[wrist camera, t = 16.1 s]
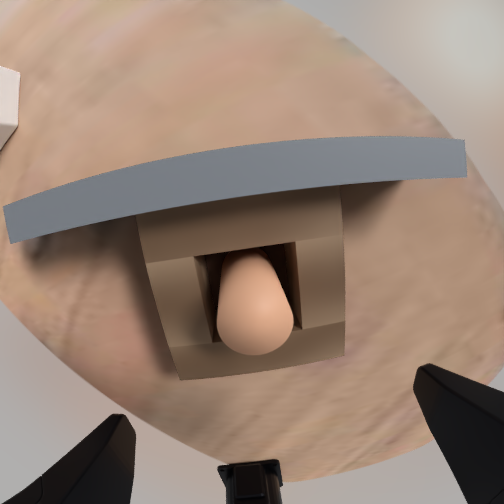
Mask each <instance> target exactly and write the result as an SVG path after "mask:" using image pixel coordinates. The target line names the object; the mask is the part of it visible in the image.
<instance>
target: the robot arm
mask: <svg viewBox="0 0 504 504" xmlns="http://www.w3.org/2000/svg"><path fill="white" fill-rule="evenodd" d="M413 390H414V394H415V396H416V398H417V400H418V403H419V405H420V408H421V410H422V412H423V415H424V417H425V420H426V422H427V424H428V427H429V429H430V431H431V433H432V434H433V436H434V438H435V440H436V442H437V444H438V445H439V447H440V449H441V451H442V453H443V455H444V457H445V459H446V461H447V462H448V464H449V466H450V468H451V470H452V472H453V474H454V476H455V478H456V480H457V482H458V484H459V486H460V488H461V491H462V493H463V495H464V496H465V499H466V501H467V503H468V504H504V392H502V391H499V390H497V389H494V388H491V387H489V386H486V385H484V384H481V383H478V382H476V381H473V380H471V379H468V378H466V377H463V376H461V375H458V374H456V373H453V372H451V371H448V370H446V369H443V368H441V367H438V366H436V365H433V364H430V363H428V364H425V365H422V366H420V367H419V368H418V369H417V372H416V376H415V380H414V384H413ZM135 444H136V434H135V430H134V429H133V427H132V425H131V423H130V422H129V420H128V419H127V417H126V416H125V415H124V414H112V415H110V416H109V417H108V418H107V419H106V420H105V421H103V422H102V423H101V424H100V425H99V426H98V427H97V428H96V429H94V430H93V431H92V432H91V433H90V434H89V435H88V436H87V437H85V438H84V439H83V440H82V441H81V442H80V443H79V444H77V445H76V446H75V447H74V448H73V449H72V450H70V451H69V452H68V453H67V454H66V455H65V456H63V457H62V458H61V459H60V460H59V461H58V462H56V463H55V464H54V465H53V466H52V467H51V468H49V469H48V470H47V471H46V472H45V473H44V474H42V476H40V477H39V478H37V479H36V480H35V481H34V482H33V483H31V484H30V485H29V486H27V487H26V488H25V489H24V490H22V491H21V492H19V493H18V494H16V495H15V496H13V497H12V498H10V499H9V500H7V501H5V502H4V503H2V504H130V499H131V493H132V486H133V479H134V465H135V446H136V445H135ZM217 470H218V472H219V475H220V477H221V479H222V481H223V483H224V485H225V487H226V504H282V499H281V493H280V487H281V486H283V483H282V476H281V470H280V463H279V460H269V461H262V462H254V463H245V464H234V465H221V466H218V469H217Z"/></svg>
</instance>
